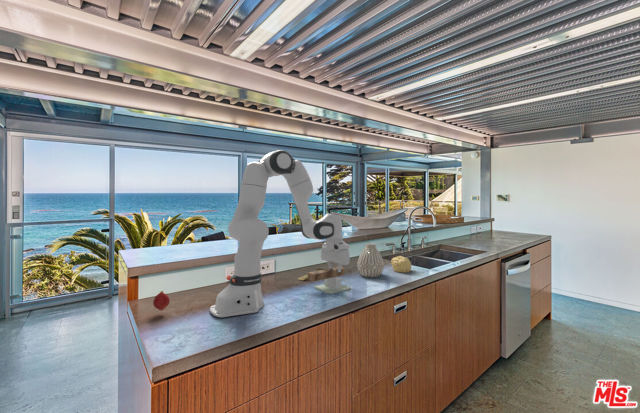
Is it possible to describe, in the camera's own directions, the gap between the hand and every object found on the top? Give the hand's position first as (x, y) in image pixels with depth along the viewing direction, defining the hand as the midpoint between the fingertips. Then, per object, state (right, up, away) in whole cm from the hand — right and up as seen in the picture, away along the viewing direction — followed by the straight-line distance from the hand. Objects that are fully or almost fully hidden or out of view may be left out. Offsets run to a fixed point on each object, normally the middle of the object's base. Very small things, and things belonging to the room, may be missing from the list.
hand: (334, 270), depth 152 cm
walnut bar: (-2, -2, -1) cm, 3 cm away
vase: (+23, -10, +26) cm, 36 cm away
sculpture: (+45, -10, +37) cm, 59 cm away
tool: (-7, -11, +20) cm, 24 cm away
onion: (-73, -10, -32) cm, 80 cm away
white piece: (-1, -9, 0) cm, 9 cm away
